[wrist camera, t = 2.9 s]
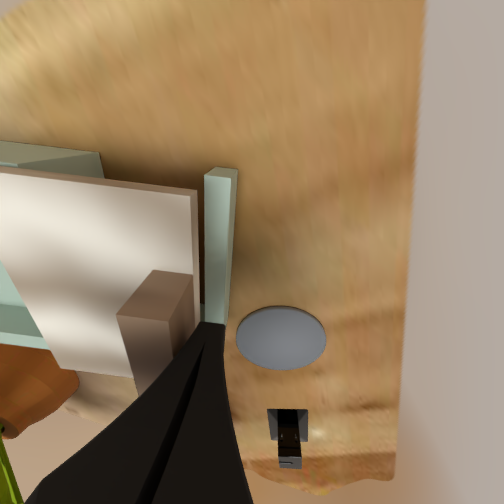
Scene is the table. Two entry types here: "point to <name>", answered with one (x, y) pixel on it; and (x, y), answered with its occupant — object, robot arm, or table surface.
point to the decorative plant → (27, 400)
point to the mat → (281, 338)
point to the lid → (103, 268)
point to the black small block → (289, 434)
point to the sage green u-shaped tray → (89, 164)
